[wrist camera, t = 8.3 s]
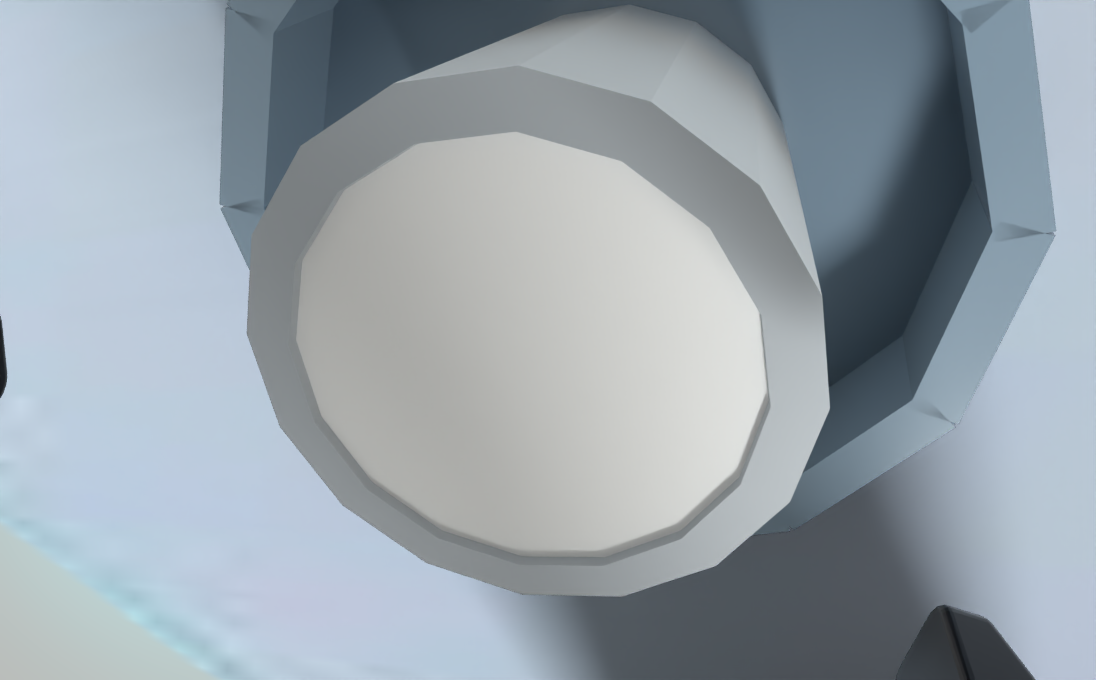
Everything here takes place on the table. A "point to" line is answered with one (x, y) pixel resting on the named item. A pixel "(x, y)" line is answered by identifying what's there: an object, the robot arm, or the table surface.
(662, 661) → the table surface
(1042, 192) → the bowl
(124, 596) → the table surface
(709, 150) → the shot glass
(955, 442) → the table surface
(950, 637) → the robot arm
